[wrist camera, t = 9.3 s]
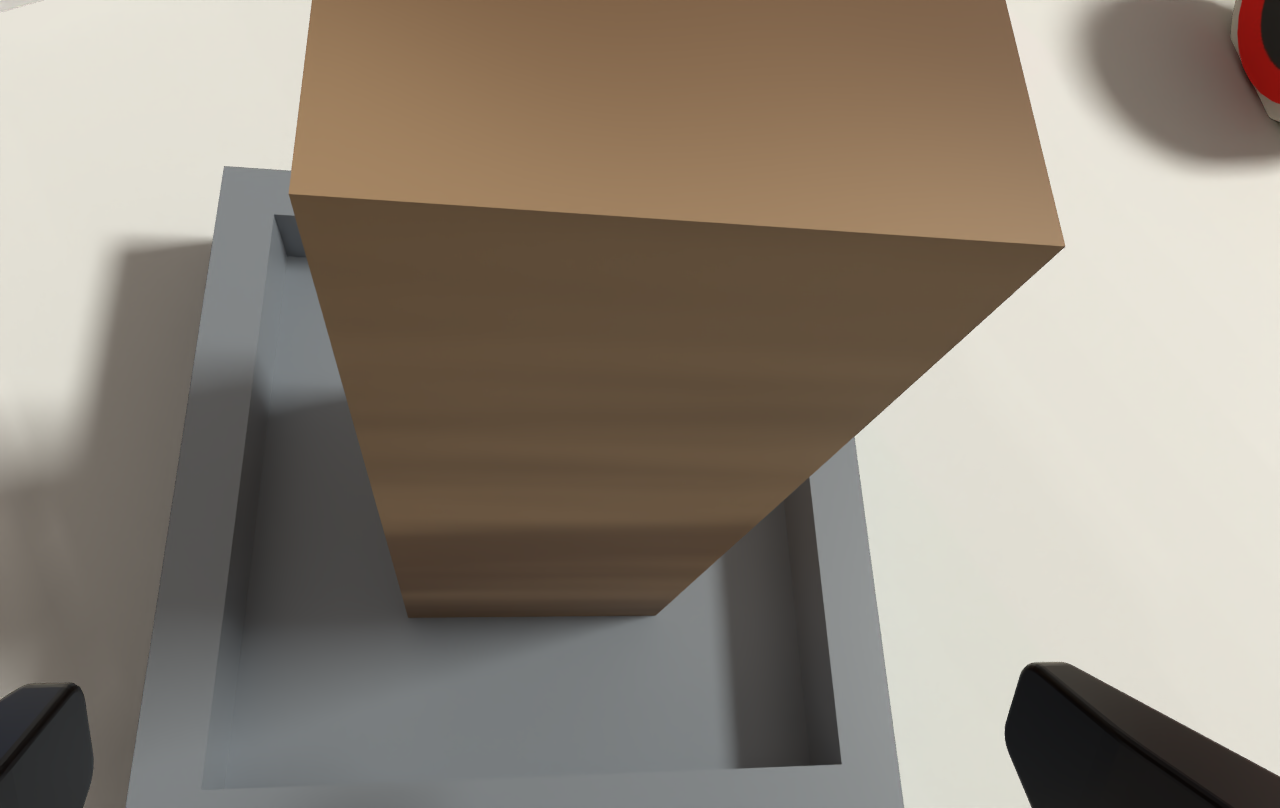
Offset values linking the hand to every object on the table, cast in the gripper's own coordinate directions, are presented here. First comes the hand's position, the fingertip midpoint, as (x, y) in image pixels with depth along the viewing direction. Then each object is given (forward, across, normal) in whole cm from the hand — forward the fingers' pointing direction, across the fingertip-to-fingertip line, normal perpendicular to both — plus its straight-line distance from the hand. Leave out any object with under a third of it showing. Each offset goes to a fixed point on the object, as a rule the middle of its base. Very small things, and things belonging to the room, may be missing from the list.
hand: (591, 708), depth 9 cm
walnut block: (+9, 0, +2) cm, 9 cm away
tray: (+10, 0, +3) cm, 10 cm away
